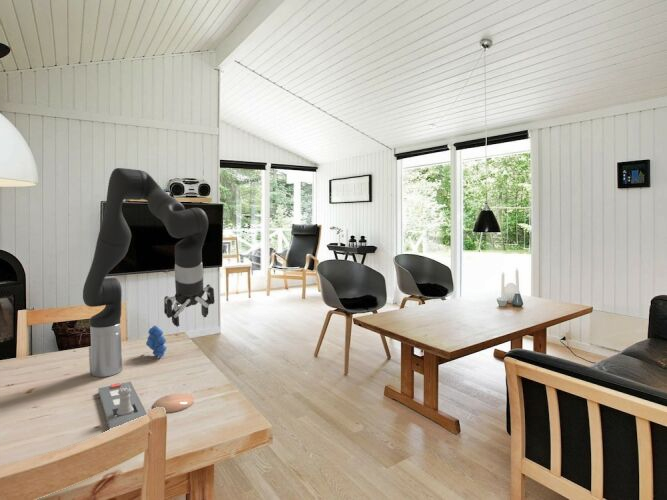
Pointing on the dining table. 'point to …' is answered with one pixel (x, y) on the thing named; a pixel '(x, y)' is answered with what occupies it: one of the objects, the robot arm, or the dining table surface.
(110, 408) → the power strip
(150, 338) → the grapes
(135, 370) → the dining table surface
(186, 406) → the peach dome
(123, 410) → the rook chess piece
